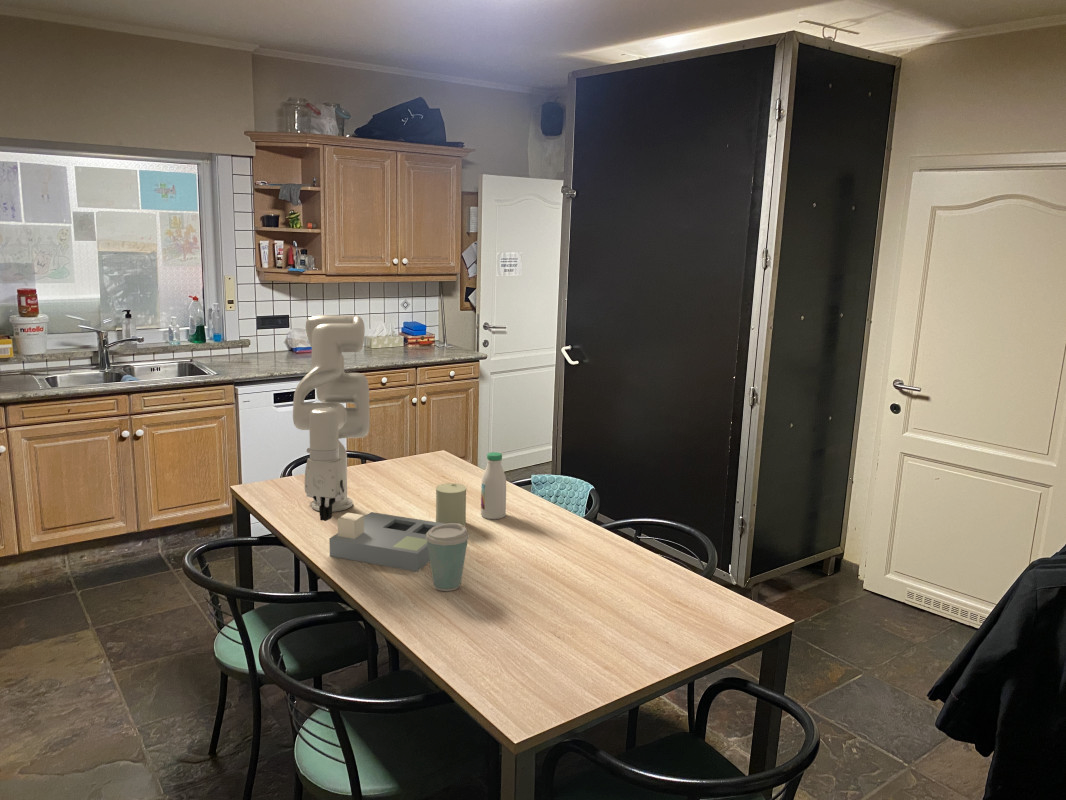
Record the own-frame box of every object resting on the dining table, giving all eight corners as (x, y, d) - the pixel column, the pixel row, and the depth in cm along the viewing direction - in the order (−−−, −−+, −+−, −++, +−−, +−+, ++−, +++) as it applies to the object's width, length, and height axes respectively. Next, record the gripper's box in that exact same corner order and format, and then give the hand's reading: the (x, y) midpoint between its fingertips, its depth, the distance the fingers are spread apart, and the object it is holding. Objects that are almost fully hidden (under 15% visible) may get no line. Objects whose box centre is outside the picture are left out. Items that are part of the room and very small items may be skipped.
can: (468, 520, 238) (469, 482, 235) (463, 531, 229) (463, 492, 226) (439, 518, 239) (439, 480, 236) (432, 528, 230) (432, 490, 227)
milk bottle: (509, 514, 244) (511, 452, 240) (498, 521, 237) (500, 458, 233) (488, 509, 247) (489, 449, 243) (476, 517, 240) (477, 454, 236)
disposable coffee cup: (433, 598, 186) (434, 539, 183) (418, 580, 195) (419, 524, 192) (474, 590, 191) (475, 533, 188) (458, 573, 200) (458, 518, 197)
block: (338, 536, 209) (337, 518, 208) (348, 529, 213) (347, 512, 212) (354, 538, 207) (354, 521, 206) (364, 532, 212) (363, 515, 211)
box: (329, 556, 208) (329, 538, 207) (371, 528, 229) (371, 512, 227) (417, 571, 200) (417, 553, 199) (452, 541, 221) (452, 524, 220)
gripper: (292, 454, 208) (294, 519, 211) (341, 460, 203) (342, 527, 207) (308, 448, 215) (310, 511, 218) (356, 453, 210) (357, 518, 214)
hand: (326, 519), depth 212 cm, fingers closed
